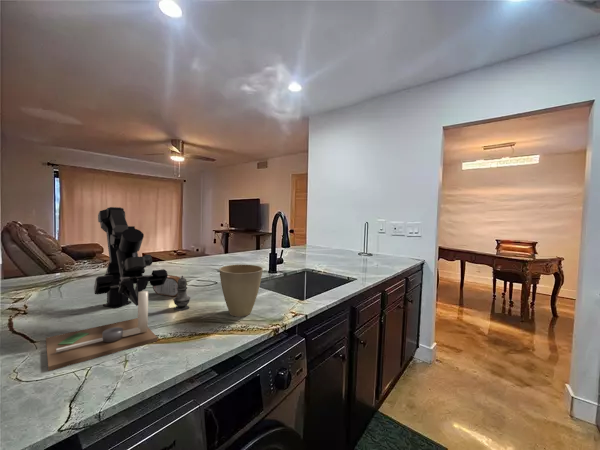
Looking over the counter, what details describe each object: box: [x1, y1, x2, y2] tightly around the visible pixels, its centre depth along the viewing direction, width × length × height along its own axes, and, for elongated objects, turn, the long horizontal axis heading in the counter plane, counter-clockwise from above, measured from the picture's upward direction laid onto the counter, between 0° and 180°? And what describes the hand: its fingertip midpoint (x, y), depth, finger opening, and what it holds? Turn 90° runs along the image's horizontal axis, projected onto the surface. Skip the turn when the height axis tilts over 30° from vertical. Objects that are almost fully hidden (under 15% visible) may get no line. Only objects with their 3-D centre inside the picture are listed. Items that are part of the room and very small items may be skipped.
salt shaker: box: [172, 275, 191, 312], centre depth 98 cm, size 6×6×12 cm
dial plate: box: [45, 317, 158, 372], centre depth 72 cm, size 22×18×1 cm
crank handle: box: [56, 290, 149, 352], centre depth 70 cm, size 19×4×11 cm, turn 135°
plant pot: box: [219, 263, 264, 318], centre depth 95 cm, size 15×15×16 cm
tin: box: [152, 274, 181, 298], centre depth 113 cm, size 15×3×8 cm, turn 71°
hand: (138, 305), depth 79 cm, fingers closed
